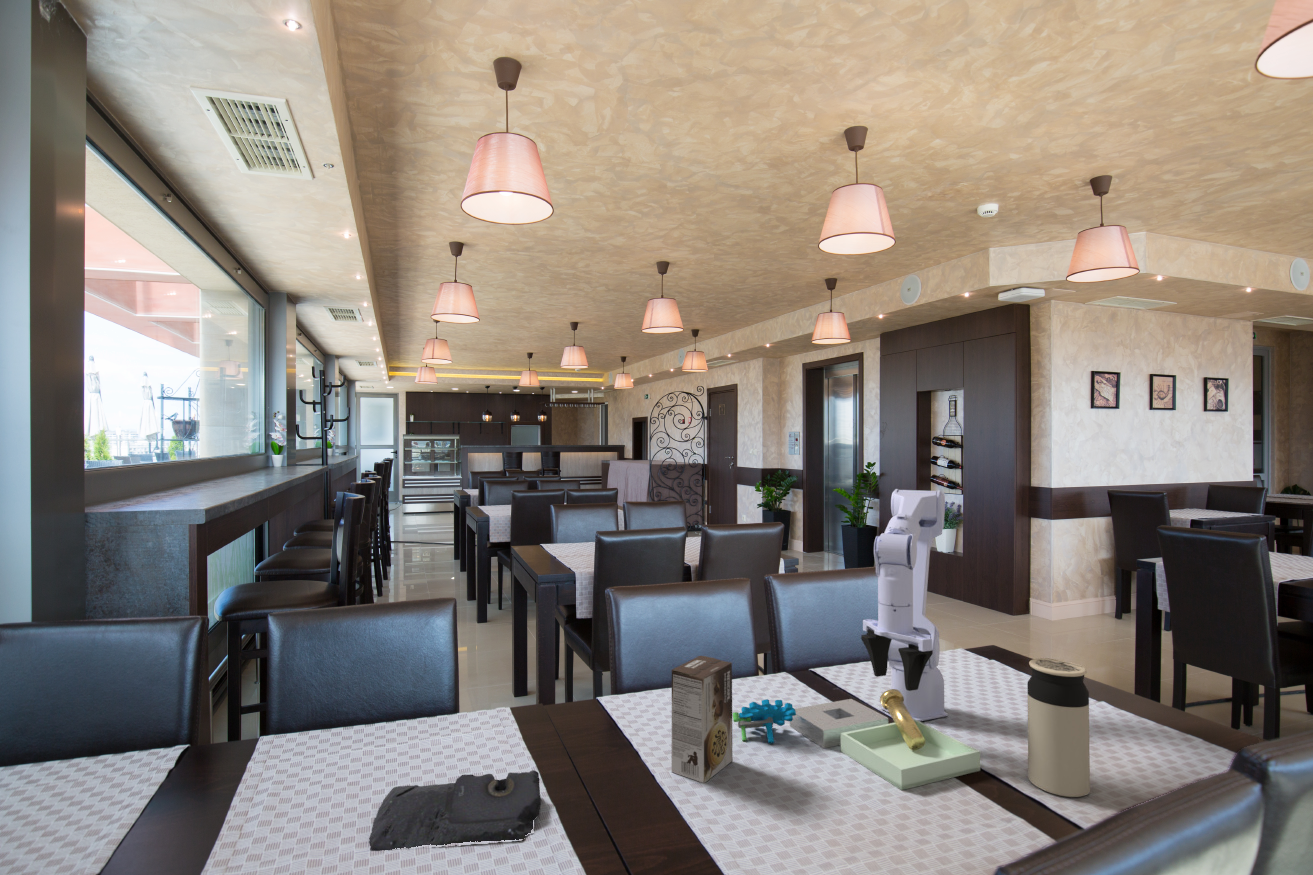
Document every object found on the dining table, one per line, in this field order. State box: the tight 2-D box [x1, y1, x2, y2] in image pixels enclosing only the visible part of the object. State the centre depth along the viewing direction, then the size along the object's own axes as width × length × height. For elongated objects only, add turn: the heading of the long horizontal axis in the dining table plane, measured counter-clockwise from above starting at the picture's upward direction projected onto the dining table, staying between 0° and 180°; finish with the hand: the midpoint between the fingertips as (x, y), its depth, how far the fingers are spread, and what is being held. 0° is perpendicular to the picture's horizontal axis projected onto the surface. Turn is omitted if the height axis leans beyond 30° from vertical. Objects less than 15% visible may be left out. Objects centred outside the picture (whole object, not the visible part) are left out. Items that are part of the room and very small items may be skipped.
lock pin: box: [879, 688, 925, 750], centre depth 115 cm, size 4×4×10 cm
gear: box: [732, 698, 796, 744], centre depth 117 cm, size 11×6×10 cm
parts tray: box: [840, 719, 981, 791], centre depth 109 cm, size 16×14×3 cm
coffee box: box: [670, 655, 734, 784], centre depth 106 cm, size 9×6×16 cm
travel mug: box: [1026, 657, 1091, 798], centre depth 101 cm, size 8×8×18 cm
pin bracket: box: [789, 698, 889, 749], centre depth 120 cm, size 14×10×3 cm
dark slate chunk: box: [368, 769, 542, 852], centre depth 92 cm, size 15×22×5 cm
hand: (895, 682), depth 115 cm, fingers open, 7 cm apart
